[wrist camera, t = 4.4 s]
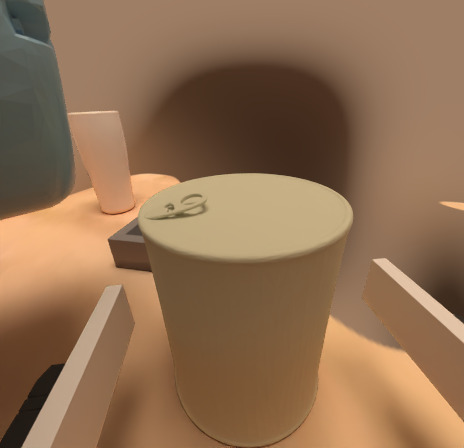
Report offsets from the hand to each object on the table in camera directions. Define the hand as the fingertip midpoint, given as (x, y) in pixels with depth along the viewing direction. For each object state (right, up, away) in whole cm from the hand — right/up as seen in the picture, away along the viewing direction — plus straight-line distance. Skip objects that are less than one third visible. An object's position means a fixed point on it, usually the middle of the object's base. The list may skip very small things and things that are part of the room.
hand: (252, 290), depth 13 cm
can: (0, -6, +3) cm, 7 cm away
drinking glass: (-20, +6, +28) cm, 35 cm away
